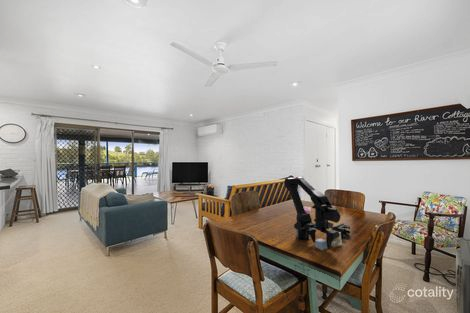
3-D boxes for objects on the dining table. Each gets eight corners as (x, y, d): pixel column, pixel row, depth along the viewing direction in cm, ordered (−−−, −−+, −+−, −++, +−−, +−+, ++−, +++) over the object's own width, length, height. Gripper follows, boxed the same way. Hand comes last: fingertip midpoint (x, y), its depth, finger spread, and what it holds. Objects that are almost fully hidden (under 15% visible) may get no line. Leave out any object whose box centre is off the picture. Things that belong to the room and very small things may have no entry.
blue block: (322, 250, 108) (322, 243, 108) (315, 247, 112) (315, 240, 112) (327, 248, 111) (327, 241, 111) (320, 245, 114) (320, 238, 114)
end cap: (339, 232, 133) (339, 222, 134) (350, 235, 128) (350, 224, 128) (331, 235, 128) (331, 225, 128) (343, 239, 122) (342, 228, 122)
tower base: (333, 247, 112) (333, 241, 112) (325, 243, 117) (325, 237, 117) (341, 245, 114) (341, 239, 114) (333, 241, 119) (333, 235, 119)
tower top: (336, 241, 112) (336, 235, 112) (326, 238, 116) (326, 232, 116) (340, 238, 115) (340, 232, 115) (331, 235, 120) (331, 229, 120)
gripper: (345, 219, 107) (346, 248, 107) (316, 211, 124) (316, 236, 123) (332, 223, 102) (333, 253, 102) (303, 214, 118) (304, 240, 118)
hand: (321, 245), depth 111 cm, fingers open, 9 cm apart
